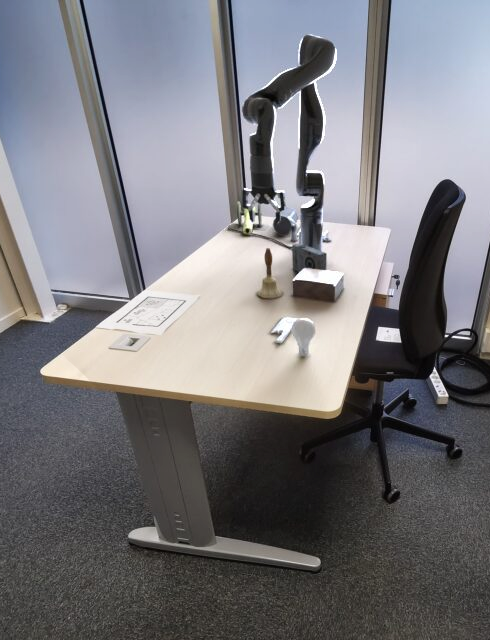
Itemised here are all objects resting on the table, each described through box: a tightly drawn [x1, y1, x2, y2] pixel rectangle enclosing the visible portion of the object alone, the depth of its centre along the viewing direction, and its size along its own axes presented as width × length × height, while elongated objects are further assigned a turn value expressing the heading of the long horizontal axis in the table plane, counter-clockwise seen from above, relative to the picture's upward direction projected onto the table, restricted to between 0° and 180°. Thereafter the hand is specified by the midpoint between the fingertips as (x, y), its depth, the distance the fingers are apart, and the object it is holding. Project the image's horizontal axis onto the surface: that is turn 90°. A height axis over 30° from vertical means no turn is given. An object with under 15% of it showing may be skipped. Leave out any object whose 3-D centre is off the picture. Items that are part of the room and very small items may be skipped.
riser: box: [292, 268, 345, 303], centre depth 156 cm, size 15×13×6 cm
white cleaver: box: [270, 316, 298, 344], centre depth 132 cm, size 5×15×1 cm, turn 168°
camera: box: [291, 242, 328, 273], centre depth 170 cm, size 16×4×10 cm, turn 47°
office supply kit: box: [272, 206, 331, 243], centre depth 220 cm, size 40×28×9 cm
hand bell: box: [257, 247, 283, 299], centre depth 150 cm, size 8×8×16 cm
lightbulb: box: [290, 317, 316, 357], centre depth 118 cm, size 6×6×11 cm
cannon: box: [236, 200, 263, 236], centre depth 217 cm, size 25×12×11 cm, turn 6°
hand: (265, 222), depth 152 cm, fingers open, 8 cm apart
